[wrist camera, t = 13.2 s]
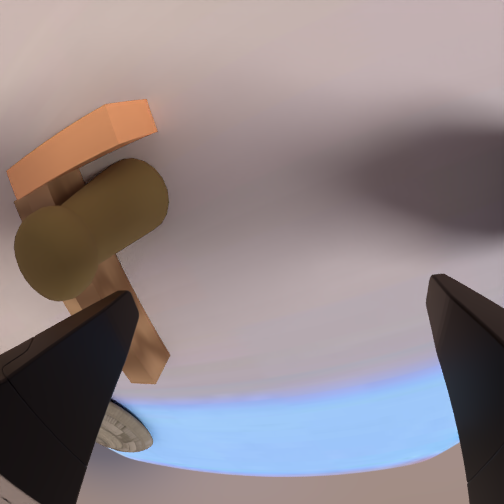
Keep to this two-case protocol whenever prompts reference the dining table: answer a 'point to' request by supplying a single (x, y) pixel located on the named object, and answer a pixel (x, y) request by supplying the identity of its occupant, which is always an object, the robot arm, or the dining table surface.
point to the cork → (89, 228)
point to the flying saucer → (123, 431)
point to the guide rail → (69, 182)
